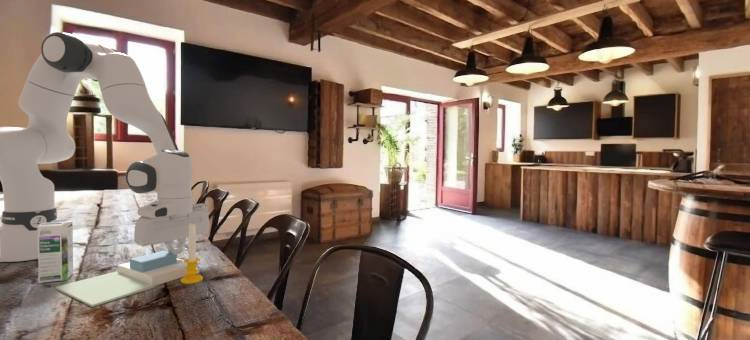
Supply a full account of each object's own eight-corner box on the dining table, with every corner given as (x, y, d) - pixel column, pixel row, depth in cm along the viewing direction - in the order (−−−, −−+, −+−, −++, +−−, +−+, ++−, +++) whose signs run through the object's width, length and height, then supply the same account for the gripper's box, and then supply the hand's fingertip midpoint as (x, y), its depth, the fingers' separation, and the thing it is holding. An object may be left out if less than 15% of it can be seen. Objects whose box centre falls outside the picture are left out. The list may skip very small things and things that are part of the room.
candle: (203, 275, 96) (203, 219, 96) (202, 282, 92) (203, 223, 91) (181, 278, 94) (181, 220, 93) (180, 285, 90) (180, 224, 89)
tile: (129, 268, 93) (129, 258, 93) (163, 259, 101) (163, 250, 101) (142, 272, 91) (142, 262, 90) (176, 263, 98) (176, 254, 98)
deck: (118, 273, 96) (118, 264, 95) (162, 262, 106) (162, 254, 106) (151, 286, 88) (151, 276, 88) (196, 272, 98) (196, 263, 98)
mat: (55, 288, 85) (55, 286, 85) (116, 273, 96) (116, 271, 96) (92, 307, 76) (92, 304, 76) (154, 287, 87) (154, 285, 87)
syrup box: (37, 284, 87) (36, 226, 86) (46, 276, 92) (45, 221, 92) (67, 280, 90) (66, 224, 89) (74, 273, 95) (73, 220, 94)
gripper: (201, 201, 111) (200, 244, 112) (130, 210, 93) (131, 261, 94) (214, 203, 108) (214, 248, 109) (144, 213, 90) (144, 266, 91)
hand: (175, 254), depth 101 cm, fingers closed
